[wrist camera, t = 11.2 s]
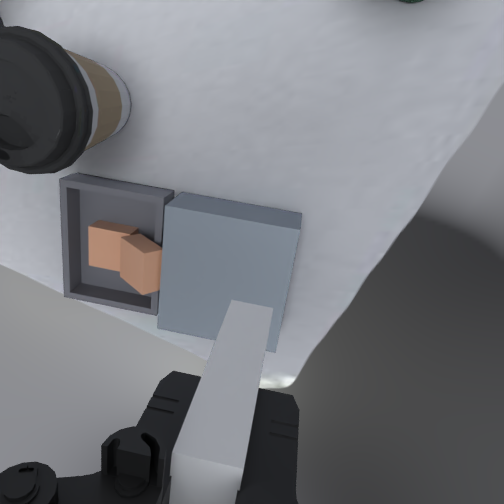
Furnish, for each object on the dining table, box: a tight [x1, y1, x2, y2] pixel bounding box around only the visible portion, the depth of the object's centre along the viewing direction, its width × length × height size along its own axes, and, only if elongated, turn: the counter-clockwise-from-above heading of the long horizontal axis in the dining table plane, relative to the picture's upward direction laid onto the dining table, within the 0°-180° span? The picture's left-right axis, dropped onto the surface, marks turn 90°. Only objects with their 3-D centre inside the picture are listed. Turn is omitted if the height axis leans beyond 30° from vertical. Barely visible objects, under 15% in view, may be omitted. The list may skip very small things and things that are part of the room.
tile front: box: [120, 234, 162, 295], centre depth 46 cm, size 5×5×2 cm
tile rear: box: [88, 220, 139, 272], centre depth 49 cm, size 5×5×2 cm
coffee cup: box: [0, 26, 131, 174], centre depth 38 cm, size 11×11×15 cm
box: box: [59, 173, 174, 316], centre depth 49 cm, size 12×15×4 cm
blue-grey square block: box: [157, 192, 302, 353], centre depth 47 cm, size 14×15×6 cm
